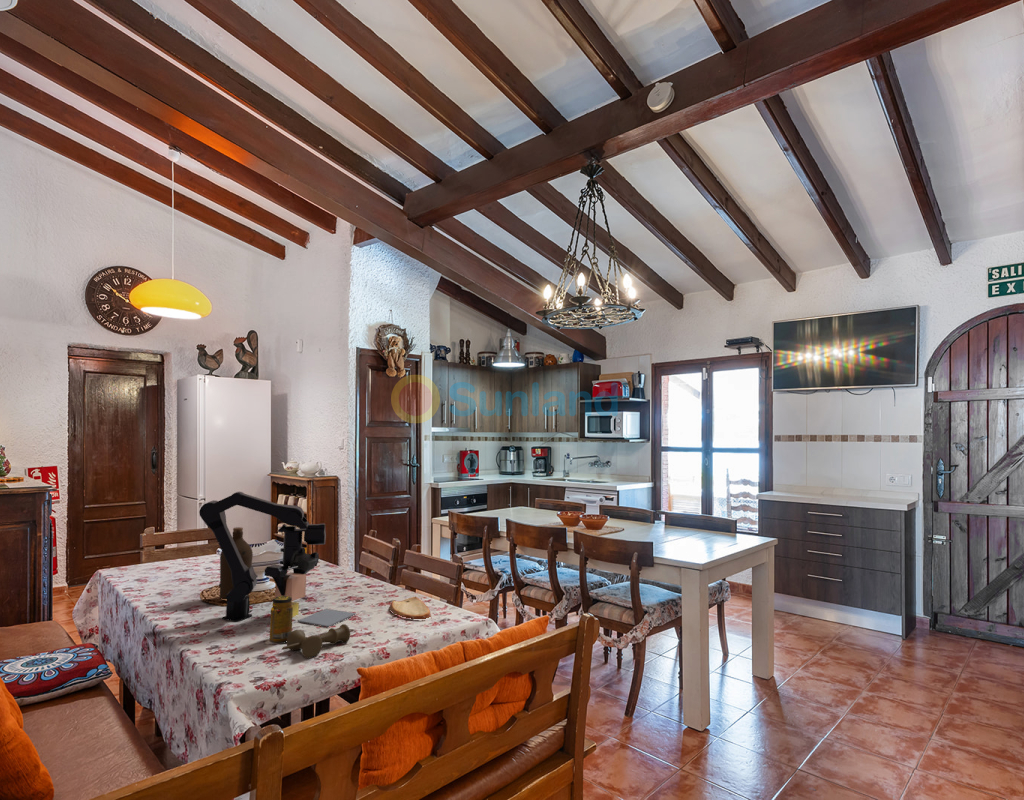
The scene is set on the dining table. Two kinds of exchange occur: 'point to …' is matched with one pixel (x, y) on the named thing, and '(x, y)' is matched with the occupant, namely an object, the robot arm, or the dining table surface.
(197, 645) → the dining table surface
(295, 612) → the yellow block
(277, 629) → the condiment
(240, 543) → the olive oil
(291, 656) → the dining table surface
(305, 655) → the kendama
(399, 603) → the slice of bread
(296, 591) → the salmon cube
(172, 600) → the dining table surface
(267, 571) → the robot arm
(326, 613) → the grey panel
